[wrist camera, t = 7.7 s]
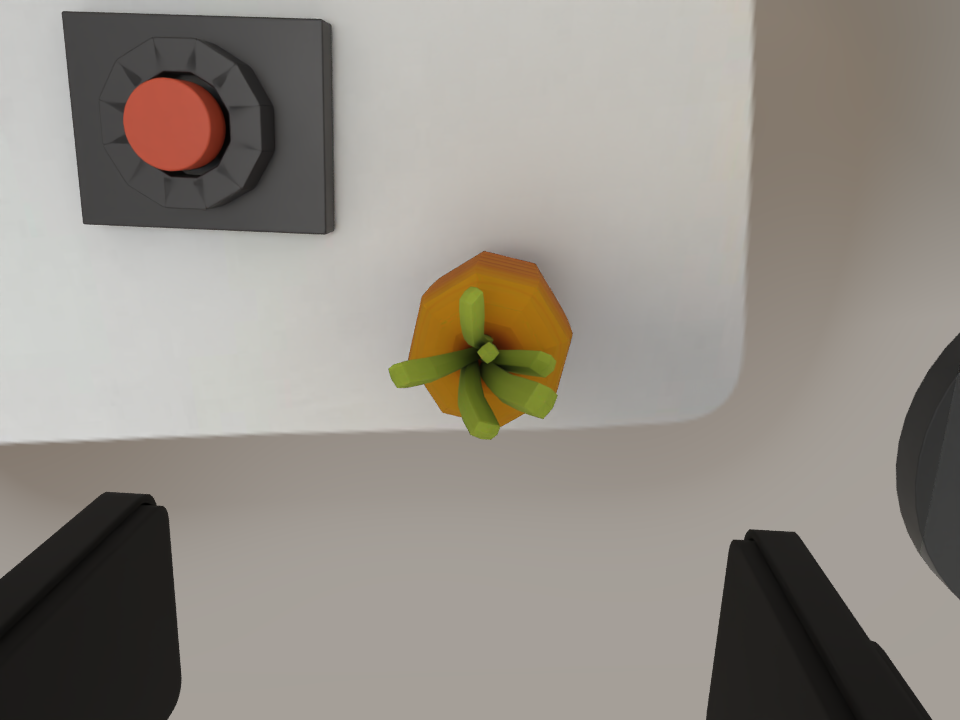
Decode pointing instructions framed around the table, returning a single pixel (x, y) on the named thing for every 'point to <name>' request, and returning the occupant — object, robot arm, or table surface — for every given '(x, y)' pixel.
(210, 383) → the table surface
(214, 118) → the button
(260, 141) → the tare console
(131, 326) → the table surface
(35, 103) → the table surface
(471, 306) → the carrot
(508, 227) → the table surface
